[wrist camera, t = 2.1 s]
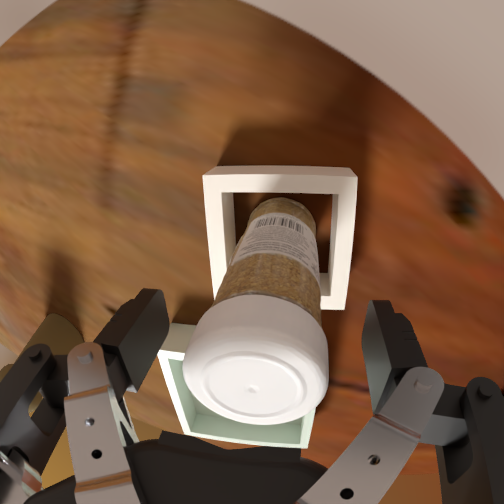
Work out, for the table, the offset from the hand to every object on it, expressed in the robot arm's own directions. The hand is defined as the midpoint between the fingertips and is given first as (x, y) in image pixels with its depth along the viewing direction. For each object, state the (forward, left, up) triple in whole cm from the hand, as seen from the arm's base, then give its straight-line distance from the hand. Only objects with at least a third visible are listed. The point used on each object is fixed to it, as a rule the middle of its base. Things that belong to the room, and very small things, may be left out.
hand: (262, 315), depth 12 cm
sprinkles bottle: (0, 0, -10) cm, 10 cm away
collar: (0, 0, -10) cm, 10 cm away
